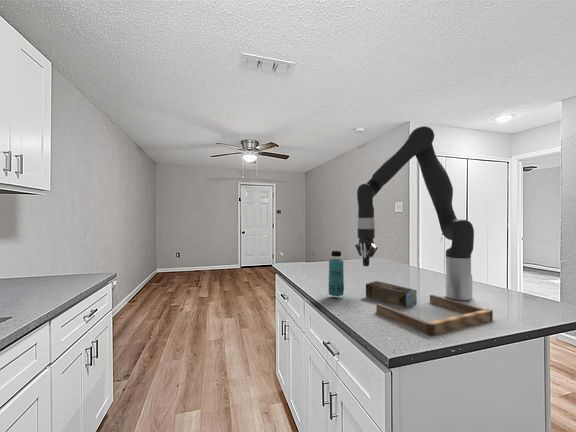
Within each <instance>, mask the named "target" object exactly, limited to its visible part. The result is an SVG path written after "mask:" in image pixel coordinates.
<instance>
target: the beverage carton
mask: <svg viewBox="0 0 576 432" xmlns="http://www.w3.org/2000/svg"><path fill="white" fill-rule="evenodd" d="M417 292H418V291H417V289H413V288H410V287H408V288H407V287H404V286H400V285H396V284H391V283H386V282H383V281H377V280H375V281H372V282H368V283H366V284H365V297H366V298H369V299H372V300H375V301H380V302H382V303H386V304H390V305H394V306H398V307H402V308H405V309H408V308H410V307H414V306H416V305H418V302H417V301H418V298H417V294H418V293H417Z"/></svg>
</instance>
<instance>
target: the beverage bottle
mask: <svg viewBox="0 0 576 432" xmlns="http://www.w3.org/2000/svg"><path fill="white" fill-rule="evenodd" d="M331 256H332V257H334V258H331V259H330V260H329V261H328V275H327V276H328V278H327V279H328V287H327V288H328V295H329V296H332V297H342V296H343V295H344V292H345V291H344V290H345V281H344V279H345V278H344V277H345V274H344V260H343V259H342V258H335V257H342V252H341V251H340V250H332V251H331Z"/></svg>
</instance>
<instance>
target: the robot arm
mask: <svg viewBox="0 0 576 432" xmlns="http://www.w3.org/2000/svg"><path fill="white" fill-rule="evenodd" d="M434 140H435V132H434V130H433V129H432V128H431V127H429V126H427V125H426V126H425V125H421V126H419V127H416V128H415V129H413V130H412V131H411V132H410V134H409V136H408V138H407V140H406V141H405V142H404V144H403V145H401V147H400V148H399V149H398V150H397V152H395V153H394V154H393V155H392V156H391V157H389V158H388V159H387V160H386V161H385V162H384V163H383V164H382V165H381V166H380V167H378V169H377V170H376V171H375V172H374V173H373V174H372V175H371V178H370V179H369V180H368V181H367V182H366V183H362V184H360V185H359V186H358V187H357V190H356V198H357V205H358V206H357V207H358V208H357V210H358V213H357V215H358V216H357V238H358V243H357V244H355V246H354V247H355V248H356V251H357V252H358V255H359V257H361V258H362V266H364V267H369V266H370V258H373V257H374V255H375V254H376V252H377V250H378V246H376V245H375V242H374V239H375V237H376V236H375V235H376V234H375V232H376V231H375V226H376V225H375V224H376V222H375V208H374V203H373V202H374V197H375V196H376V195H377V194H378V193H379V192H380V190H381V189H382V188H383V187H384V186H385V185H386V184H387V183H389V181H391V180H392V178H393V177H395V176H396V175H397V174H398V173H399V171H400V170H401V169H403V167H405V165H406V164H407V163H408V162H409V161H410V160H411V159H413V158H414V157H415V159H417V162H418V165H419V168H420V171H421V175H422V179H423V182H424V185H425V186H426V189H427V192H428V194H429V196H430V198H431V202H432V204H433V207H434V209H435V212H436V215H437V220H438V223H439V227H440V230H441V233H442V235H443V236H444V238H446V239H447V240H449V241H451V246H450V247H449V248H448V249H446V250H445V292H446V293H445V296H446V298H448V299H451V300H455V301H457V300H458V301H470V300H472V298H473V275H472V253H473V252H474V241H475V239H474V238H475V230H474V225H473V224H472V222H470V221H469V220H467V219H459V218H457V215H456V213H455V212H454V211H455V210H454V208H453V195H454V188H453V185H452V182H451V179H450V176H449V175H448V172H447V171H446V169H445V167H444V166H443V165H442V162H440V160H439V159H438V156H437V154H436V151H435V148H434V146H433V143H434V142H433V141H434Z"/></svg>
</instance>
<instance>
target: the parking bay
mask: <svg viewBox="0 0 576 432" xmlns="http://www.w3.org/2000/svg"><path fill="white" fill-rule="evenodd" d="M429 303H431V304H433V305H437V306H440V307H442V308H447V309H450V310H453V311H455V312H460V313H462V314H460V315H454V316H450V317H446V318H442V319H436V320H432V321H426V320H423V319H420V318H418V317H416V316H413V315H410V314H407V313H405V312H403V311H399V310H398V309H394V308H392V307H389V306H388V305H385V304H382V303H376V314H379V315H381V316H384V317H386V318H388V319H391V320H393V321H395V322H398V323H400V324H402V325H404V326H407V327H409V328H411V329H414V330H416V331H419V332H421V333H423V334H425V335H427V336H429V337H433V336H434V337H435V336H438V335H441V334H446V333H449V332H453V331H458V330H461V329H465V328H469V327H474V326H476V325H481V324H484V323H488V322H493V320H494V318H493V315H494V313H493V312H494V311H493V310H492V309H489V308H482V307H479V306H478V307H477V306H474V305H470V304H467V303H463V302H461V301H457V300H454V299H451V298H447V297H442V296H438V295H435V294H430V295H429Z"/></svg>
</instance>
